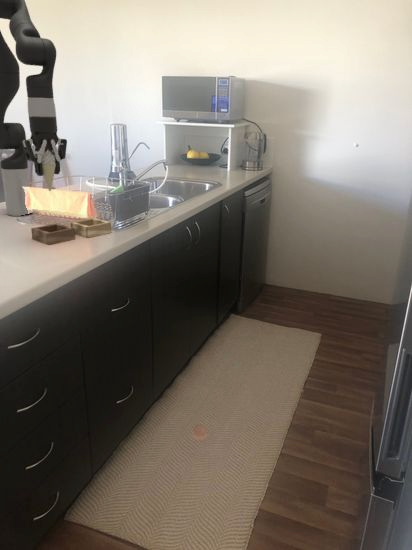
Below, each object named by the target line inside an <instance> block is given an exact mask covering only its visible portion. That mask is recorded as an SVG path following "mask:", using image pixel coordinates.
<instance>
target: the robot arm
mask: <svg viewBox="0 0 412 550" xmlns="http://www.w3.org/2000/svg"><path fill="white" fill-rule="evenodd" d="M0 19H3V20H9V24H8V28H9V31H10V34H11V36H12V38H13V40H14V41H15V54H16V55H14V53H13V51H12V50H11V48H10V47H9V45H8V43H7V42H6V39H5V38H4V36H3V34H2V33H3V32H2V31H1V30H0V150H14V152H13V154H12V155H10V156H8V157H6V158H3V159H2V160H1V161H0V169H1V170H0V171H1V177H2V182H3V194H4V201H5V207H6V208H5V210H6V213H7V215H8V216H10V217H11V216H14V217H22V216H21V215H24V216H26V215H25V214H28V210H27V208H26V205H25V192H24V190H23V188H22V186H30V187H31V181H30V174H29V165H28V163H29V162H33V164H34V173H35V174H36V176H37V177H44V176H43V170H42V163H41V159H42V156H43V155H44V152H46V151H47V150H48V151H51V154H53V155H54V158H55V164H56V166H55V171H54V175H60V172H61V161H62V160H65V159H66V153H67V146H68V145H67V144H68V140H67V139H66V138H60V137H59V136H58V123H57V112H56V110H57V109H56V104H55V98H54V87H53V79H54V70H55V65H56V62H57V48H56V46H55V44H54V43H53V41H52V40H50V39H48V38H43V37H41V35H40V33H39V31H38V29H37V27H36V26H35V24H34V23H33V21H32V18H31V16H30V12H29V9H28V6H27V3H26V0H0ZM15 56H16V57H17V58H16V57H15ZM18 61H20V63H22V64H24V65H26V66H34V67H35V66H36V67H42V70H41V72H40V73H38V74H37V73H36V74H30V75H28V76H26V78H25V86H26V94H27V113H28V114H27V115H28V123H29V131H30V137H29V138H27V135H26V130H25V128H24V125H23V123H21V122H5V116H6V112H7V110H8V108H9V106H10V105H11V103H12V102H13V100H14V98H15V96H16V95H17V93H18V91H19V90H20V86H21V80H20V78H21V76H20V74H21V73H20V65H19V62H18ZM57 145H58V146H57ZM33 146H34V149H33V148H32V147H33ZM28 161H29V162H28Z"/></svg>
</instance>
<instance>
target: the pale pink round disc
mask: <svg viewBox="0 0 412 550" xmlns="http://www.w3.org/2000/svg"><path fill="white" fill-rule="evenodd" d="M208 432H209V431H208V427H207V426H206V425H205V424H204V425H203V424H196V425H195V426H193V428H192V438H193V439H194V440H195V441H198V442H202V441H203V442H204V441H205V440H206V439H207V438H208Z"/></svg>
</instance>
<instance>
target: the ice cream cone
mask: <svg viewBox="0 0 412 550" xmlns="http://www.w3.org/2000/svg"><path fill="white" fill-rule="evenodd" d="M41 163H42V170H43V176H42V177H43V178H44V180H45V181H44V182H45V184H46V186H47V189H48V191H49V192H51V190H52V187H53V181H54V177H55V174H54V171H55V166H56V164H55V158H54V155H53V154H51V151H48V150H47V151H46V152H44V155H43V156H42V159H41Z"/></svg>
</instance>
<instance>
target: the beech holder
mask: <svg viewBox="0 0 412 550" xmlns="http://www.w3.org/2000/svg"><path fill="white" fill-rule="evenodd" d="M92 218H93V219H91V218H88V219H82V220H77V221H71V222H70V227H72V228H75V235H77V236H81V237H83V238H86V239H90V238H94V237H99V236H102V235H106V234H107V235H108V234H111V233H112V223H111V222H109V221H106V220H104V219H103V220H102V219H99V218H94V217H92Z"/></svg>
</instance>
